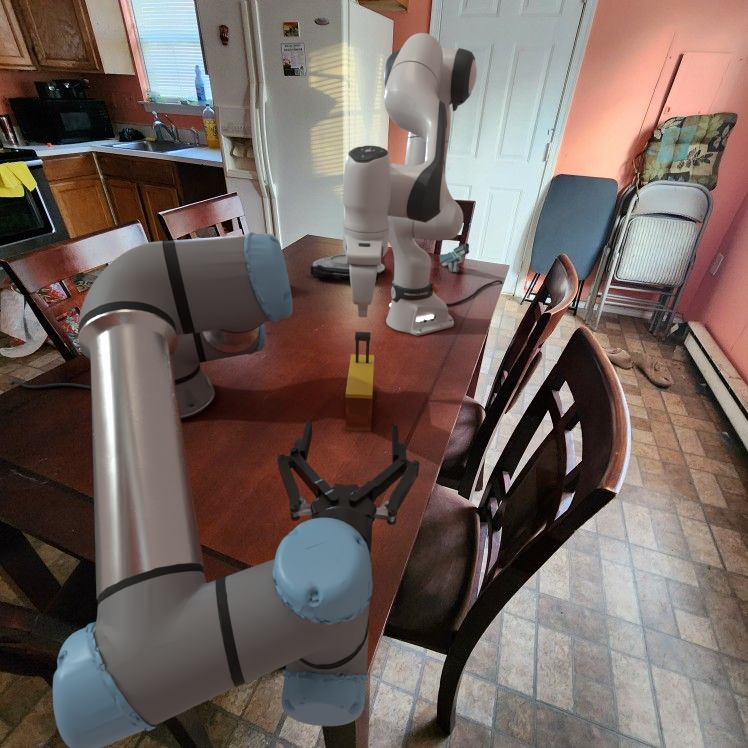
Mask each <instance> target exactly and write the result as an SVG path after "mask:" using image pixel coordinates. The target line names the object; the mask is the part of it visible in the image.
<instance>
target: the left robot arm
mask: <svg viewBox="0 0 748 748" xmlns="http://www.w3.org/2000/svg"><path fill="white" fill-rule="evenodd" d="M293 312H294V304H293V296H292V290H291V284H290V279H289V275H288V269H287V265H286V261H285V256H284V253H283V249H282V246H281V243H280V240H279V239H278V238H277V236H275V235H274V234H272V233H256V232H252V231H250V232H247V233H246V234H237V235H225V236H213V237H200V238H189V239H188V238H187V239H175V240H165V241H163V240H159V241H151V242H146V243H143V244H140V245H138V246H135V247H132V248H131V249H128V250H126V251H125V252H123V253H122V254H120V255H119V256H118V257H116V258H115V259H114V260H113V261H111V262H110V263H109V264H108V265H107V266H106V267H105V268H104V269H103V270H102V271H101V272H100V274H99V275H98V276H97V277H96V279H95V280H94V281H93V283H92V284H91V286H90V288H89V290H88V292H87V294H86V296H85V298H84V300H83V303H82V305H81V308H80V311H79V317H78V322H77V328H78V329H77V330H78V331H77V341H78V342H77V343H78V347H79V349H80V352H81V353H82V355H84V356H85V357H86V358H87V359H89V361H90V385H87V384H81V383H80V384H79V383H72V382H71V383H70V382H60V383H59V382H58V383H49V384H42V385H29V384H26V383H24V382H23V381H22V382H21V381H19V380H16V379H15V380H14V379H13V380H12V381H11V382H10V383H9V385H11V386H14V385H15V384H16V385H18V386H20V387H23V388H25V389H31V390H38V389H39V390H40V389H49V388H57V387H73V388H82V389H87V390H90V391H91V429H92V431H91V432H92V435H91V436H92V467H93V468H92V470H93V471H92V472H93V473H92V474H93V507H94V508H93V510H94V511H93V512H94V515H93V516H94V547H95V548H94V549H95V550H94V551H95V552H94V554H95V556H94V557H95V583H96V584H95V587H96V588H95V590H96V591H95V592H96V593H95V594H96V601H97V611H96V612H97V613H96V614H97V615H96V621H94V622H91V623H88V624H87V625H86V627H83V628H80V629H79V630H77V631H74V632H73V633H72V634H71V635H70V636H69V637H68V638H66V639H65V641H64V642H63V644H62V646H61V648H60V650H59V653H58V656H57V659H56V663H57V668H56V670H55V672H54V674H53V678H52V708H53V714H54V719H55V724H56V727H57V731H58V733H59V735H60V738H61V739H62V740H63V742H64V744H66V745H67V747H68V748H105V747H107V746H109V745H112V744H115V743H116V742H119V741H121V740H124V739H127V738H130V737H131V736H134V735H136V734H138V733H141V732H144V731H146V732H149V731H152V730H154V729H156V728H157V727H158V725H159V724H161V723H163V722H165V721H168V720H169V719H171V718H173V717H175V716H178V715H180V714H182V713H184V712H186V711H188V710H190V709H193V708H194V707H196V706H199V705H201V704H203V703H205V702H207V701H209V700H211V699H213V698H216V697H218V696H219V695H222V694H224V693H226V692H228V691H230V690H232V689H234V688H237V687H240V686H242V685H244V684H248V683H250V682H253V681H255V680H257V679H259V678H261V677H264V676H265V675H268V674H270V673H272V672H274V671H277V670H279V669H281V668H283V667H285V669H284V670H283V673H282V676H283V686H282V695H281V699H280V700H281V708H282V709H283V711H284V713H285V714H286V716H288V717H289V718H291V719H292V720H294V721H297V722H299V723H301V724H305V725H309V726H317V727H338V726H344V725H347V724H351V723H352V722H355V721H356V720H357V719H358V718H360V716H361V715H362V713H363V712H364V709H365V704H366V692H367V681H368V680H369V676H368V675H369V674H368V655H369V654H368V652H369V634H370V613H369V612H370V605H371V596H372V595H373V587H374V585H373V573H372V570H373V569H372V554H371V553H372V545H373V544H372V543H373V539H372V538H373V523H374V521H375V520H376V519H377V520H382V521H383V520H384V521H386V523H387V524H388V525H389V526H395V525H396V524H397V517H398V511H399V509H400V508H401V506H402V504H403V502H404V501H405V499H406V498H407V495H408V494H409V492H410V491H411V489H412V487H413V485H414V484H415V482H416V480H417V478H418V476H419V471H420V462H419V460H416V459H415V460H409V459H408V458H407V445H406V443H403V442H399V425H398V424H392V435H391V444H392V445H391V455H392V456H391V461H392V463H391V464H390V465H388V466H387V467H386V468H385V469H384V470H383V471H381V472H380V473H379V474H378V475H377V476H376V477H374V478H373V479H372V480H368V481H367V482H366V483H364V484H363V485H361V486H358V484H341V483H334V484H333V485H329V483H328V482H327V481H326V480H325V479H324V478H321V477H320V475H318V473H317V472H316V471H315V470H314V468H313V467H312V466H311V465H310V464H309V463H308V455H309V451H310V447H311V444H312V443H311V442H312V438H313V422H312V420H306V423H305V427H304V431H303V435H302V438H296V439H295V440H294V444H293V447H292V448H290V451H289V453H290V454H288V455H285V454H283V453H282V454H279V455H278V456H277V458H276V459H277V466H278V472H279V475H280V477H281V481H282V483H283V485H284V488H285V492H286V494H287V497H288V500H289V504H288V506H289V514H290V519H291V521H293V522H297V521H299V520H300V519H301V517H306V516H307V517H308V516H309V517H310V516H311V519H308V520H306V521H303V522H301V523H299V524H297V526H295V528H293V530H291V531H290V532H289V533H288V534H287V535H286V536H284V537H283V538H282V540H281V541H280V542H279V545H278V547H277V549H276V552H275V556H274V558H273V559H271V560H270V559H269V560H267V561H265V562H262V563H260V564H257V565H254V566H252V567H248V568H246V569H243V570H240V571H237V572H234V573H232V574H228V575H226V576H223V577H220V578H217V579H215V580H212V581H208V582H207V580H206V575H205V570H204V568H205V563H204V557H203V551H202V544H201V537H200V531H199V525H198V519H197V512H196V506H195V505H196V504H195V502H194V501H195V499H194V493H193V488H192V487H193V486H192V482H191V481H192V480H191V475H190V467H189V462H188V461H189V460H188V456H187V455H188V454H187V449H186V444H185V436H184V430H183V424H182V421H184V420H188V419H191V418H193V417H196V416H198V415H200V414H202V413H203V412H205V411H207V410H208V409H209V408H210V407H211V406H212V404H213V403H214V402H215V399H216V391H215V388H214V386H213V383H212V382H211V380H210V377H209V376H208V375H207V374H206V373H205V372H204V370H202V368H201V365H200V364H201V363H207V362H212V361H217V360H222V359H227V358H234V357H239V356H244V355H245V356H246V355H253V354H255V353H259V352H261V351H263V349H264V348H265V346H266V338H267V334H266V325H265V323H267V322H275V323H277V322H280V321H281V320H284V319H288V318H290V317H291V316H292V314H293ZM21 385H22V386H21ZM292 469H293V471H294V472H295V473H296V474H297V476H298V477H299V478H300V479H301V480H302V482H303V483H304V485H306V487H307V488H308V489H309V490H310V491H311V493H312V494H313V495H314V497H315V499H314V500H313V501H312V502H311V504H309V503H308V502H307V500H306V499H305V498H304V497H303V496H301V495H300V490H299V487H298V485H297V482H296V479H295V477H294V474H293V471H292ZM398 480H399V481H398ZM397 481H398V482H397ZM396 482H397V484H396V486H395V487H394V489H393V490H392V492H391V494H390V496H389V498H388V500H385V501H384V502H383V503H382V505H381V506H379V507H377V505H376V504H375V503H376V501H377V499H378V498H379V497H380V496H381V495H382V494H383V493H384V492H386V491H387V490H388V489H389V488H390V487H391V486H392V485H393V484H394V483H396Z"/></svg>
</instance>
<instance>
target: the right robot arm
mask: <svg viewBox="0 0 748 748" xmlns="http://www.w3.org/2000/svg"><path fill="white" fill-rule="evenodd" d="M477 69H478V67H477V63H476V57H475V55H474V53H473V52H472V51H470V50H468V49H464V48H460V47H458V48H457V49H456V48H450V47H442V46H441V44H440V42H439V40H437V38H436V37H435V36H433V35H432V34H429V33H426V32H418V33H415V34H413V35H411V36H410V37H409V38H407V40H405V42H404V44H403V45H402V47H401V48H400V49H397V50H395V51H393V52H392V53H390V55H389V56H388V58H387V59H386V62H385V67H384V75H383V79H384V80H383V81H384V97H383V102H384V108H385V110H386V113H387V115H388V117H389V118H390V120H391V121H392V123H394V124H395V125H396V126H397V127H398V128H399V129H401V130H402V131H405V132H406V133H407V143H406V149H405V159H404V164H402V163H393V162H391V156H390V153H389V151H388V150H387V149H386V148H384V147H382V146H378V145H363V146H356V147H354V148H352V149H351V150H349V151H348V152H347V154H346V159H345V164H344V165H345V166H344V172H343V182H342V183H343V186H342V187H343V188H342V202H343V207H344V219H343V223H342V230H343V231H342V236H343V237H342V249H343V251H344V255H346V263H347V264H349V270H350V281H349V282H350V291H351V292H350V293H351V299H352V303H353V304H354V305H357V309H358V312H357V313H358V314H357V315H358V317H359V318H368V310H369V309H368V308H369V306H370V305H372V303H373V300H374V299H373V298H374V294H375V288H376V282H377V281H376V275H377V270H378V266H379V265H381V263H382V261H383V258H384V256H385V255H386V254H387V253H388V251H389V245H390V248H391V250H392V253H393V254H392V255H393V265H394V269H393V279H392V281H391V282H392V283H391V289H390V292H391V293H390V294H391V295H390V297H391V301H390V303H389V310H388V314H387V316H386V318H385V323H386V324H387V326H388V327H389V328H391V329H393V330H395V331H397V332H402V333H408V334H411V335H413V336H417V337H420V336H423V335H428V334H431V333H435V332H438V331H443V330H445V329H450V328H453V327H454V326H455V319H454V318H453V317H452V316H451V315H450V313H449V309H448V307H451V306H455V305H458V304H461V303H463V302H466V301H468V300H470V299H471V298H472V297H474V296H476V294H477V293H478V292H480V291H481V290H482V289H484V288H485V287H488V286H491V285H493V284H495V283H500V284H503V281H502V280H500V279H497V280H494V281H490V282H488V283H485V284H484V285H482V286H481V287H479V288H477V290H476V291H474V292H473V293H472V294H470V295H469V296H467V297H466V298H463V299H461V300H458V301H455V302H451V303H446V302H445V301H444V300H443V299H442V298H441V297H440V296H438V295H437V294H438V293H439V292H440V290H441V289H440V286H438V285H437V284H434V283H433V281H431V280H430V278H431V270H432V259H431V255H429V253H428V252H427V251H425V250H424V249H423V248H422V247H420V246H419V245H418V243H417V242H416V240H415V239H422V240H427V241H428V240H430V241H450V240H454V239H455V238H456V237H457V236H458V235H459V234H460V232H461V230H462V229H463V225H464V212H463V210H462V207H461V206H460V205H459V203H458V202H456V200H455V199H454V197H453V196H452V195H451V193H450V190H449V188H448V184H447V179H446V178H447V177H446V168H447V167H446V166H447V158H448V157H447V156H448V149H449V143H450V134H451V124H452V123H451V121H452V120H451V118H452V112H456V111H457V110H458V108H459V107H460V105H463V104H465V102H466V101H467V100H468V99H469V98H470V97H471V95H472V92H473V90H474V88H475V85H476V82H477V78H478V77H477V75H478V74H477V73H478V71H477ZM451 107H452V109H451ZM436 293H437V294H436Z"/></svg>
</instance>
